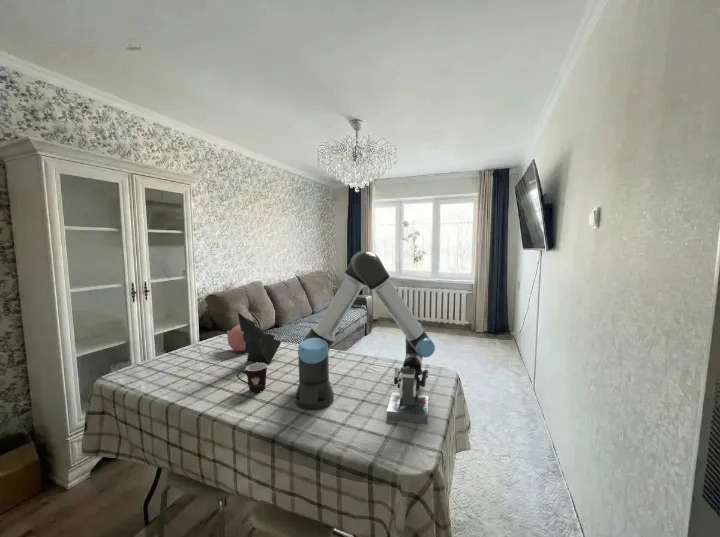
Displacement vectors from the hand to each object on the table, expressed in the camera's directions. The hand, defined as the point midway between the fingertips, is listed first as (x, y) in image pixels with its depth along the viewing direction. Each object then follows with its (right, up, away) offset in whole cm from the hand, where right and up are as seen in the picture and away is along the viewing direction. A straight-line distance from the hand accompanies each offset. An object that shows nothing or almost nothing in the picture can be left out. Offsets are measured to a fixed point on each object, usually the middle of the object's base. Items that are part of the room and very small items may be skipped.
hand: (407, 391), depth 107 cm
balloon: (-88, -5, +74) cm, 115 cm away
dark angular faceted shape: (-70, -7, +54) cm, 89 cm away
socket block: (+1, -10, +6) cm, 11 cm away
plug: (+1, -6, +6) cm, 8 cm away
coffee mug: (-62, -9, +25) cm, 67 cm away
